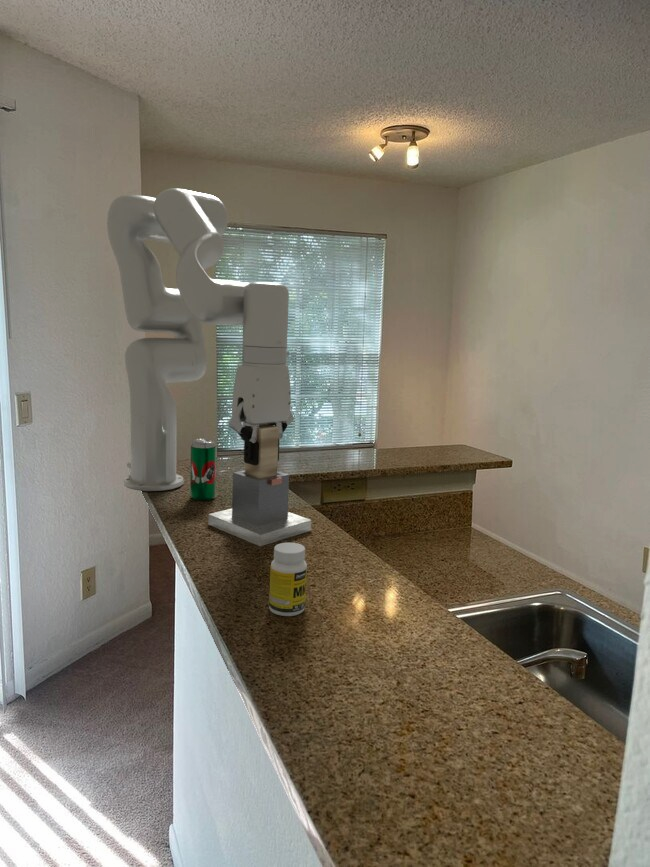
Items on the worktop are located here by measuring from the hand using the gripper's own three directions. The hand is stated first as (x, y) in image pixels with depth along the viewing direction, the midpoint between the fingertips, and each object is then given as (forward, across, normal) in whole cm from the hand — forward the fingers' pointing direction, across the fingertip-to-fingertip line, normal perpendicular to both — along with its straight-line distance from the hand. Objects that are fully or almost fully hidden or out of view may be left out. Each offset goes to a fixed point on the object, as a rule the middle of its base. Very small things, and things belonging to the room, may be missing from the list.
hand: (261, 460), depth 109 cm
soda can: (+12, -3, -21) cm, 25 cm away
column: (+10, 0, 0) cm, 10 cm away
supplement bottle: (+12, +18, +26) cm, 34 cm away
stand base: (+12, 0, 0) cm, 12 cm away
